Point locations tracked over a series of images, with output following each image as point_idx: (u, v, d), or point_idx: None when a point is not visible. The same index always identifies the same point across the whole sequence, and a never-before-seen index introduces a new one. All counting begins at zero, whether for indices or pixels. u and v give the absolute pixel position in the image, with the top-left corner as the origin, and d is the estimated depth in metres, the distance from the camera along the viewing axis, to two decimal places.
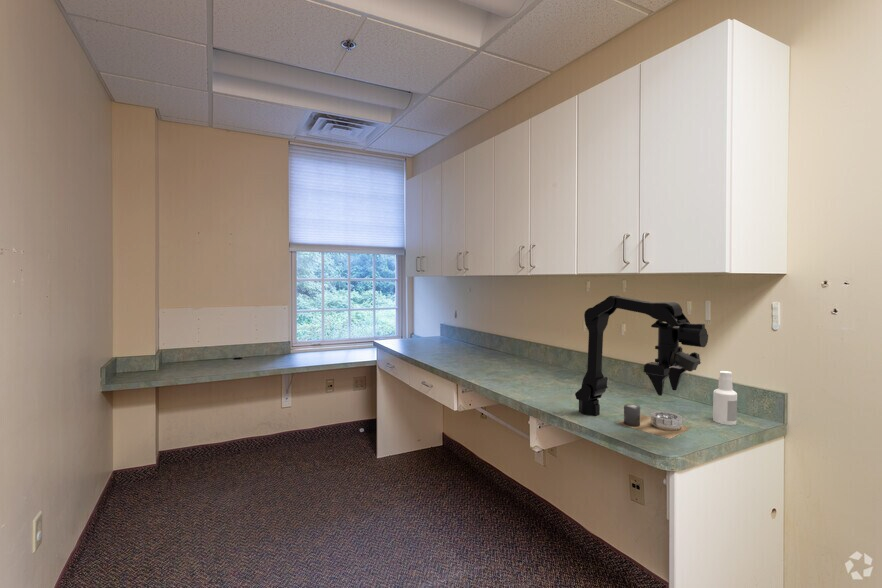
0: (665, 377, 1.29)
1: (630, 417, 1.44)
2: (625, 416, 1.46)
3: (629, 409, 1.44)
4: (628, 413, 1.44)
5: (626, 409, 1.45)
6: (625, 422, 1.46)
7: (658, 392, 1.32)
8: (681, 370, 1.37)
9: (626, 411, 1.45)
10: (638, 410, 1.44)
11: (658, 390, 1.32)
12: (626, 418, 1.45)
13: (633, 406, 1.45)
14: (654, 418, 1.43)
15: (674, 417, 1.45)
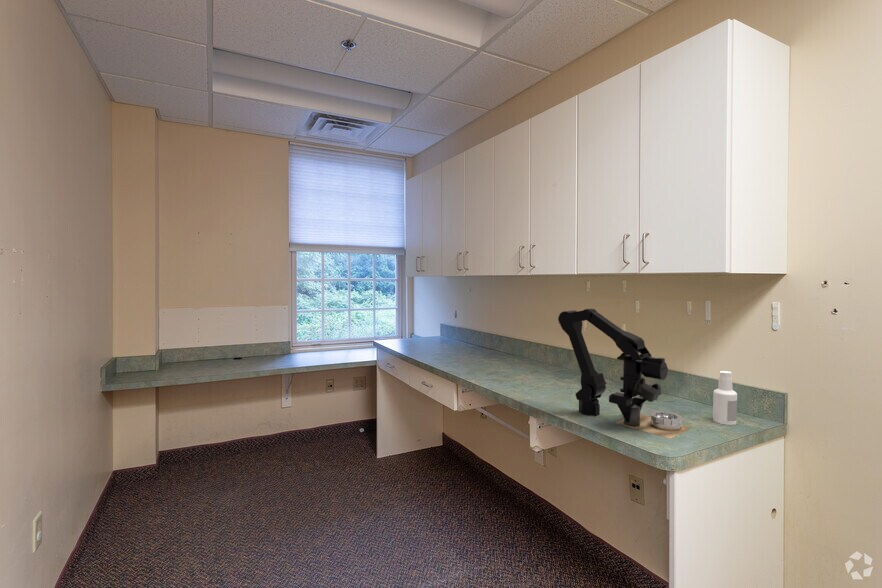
0: (631, 406, 1.41)
1: (630, 417, 1.44)
2: None
3: None
4: None
5: None
6: (625, 422, 1.46)
7: (626, 419, 1.44)
8: (642, 400, 1.46)
9: None
10: (638, 410, 1.44)
11: (626, 417, 1.44)
12: None
13: (633, 406, 1.45)
14: (654, 418, 1.43)
15: (674, 417, 1.45)
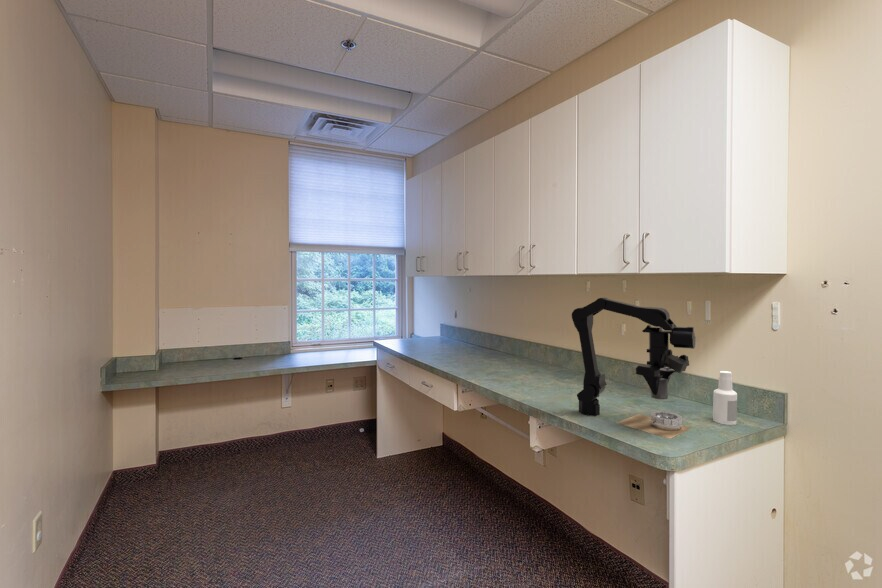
0: (659, 377, 1.38)
1: (658, 389, 1.41)
2: None
3: None
4: None
5: None
6: (652, 395, 1.43)
7: (653, 392, 1.42)
8: (669, 372, 1.44)
9: None
10: (666, 382, 1.41)
11: (653, 390, 1.42)
12: None
13: (660, 378, 1.43)
14: (654, 418, 1.43)
15: (674, 417, 1.45)
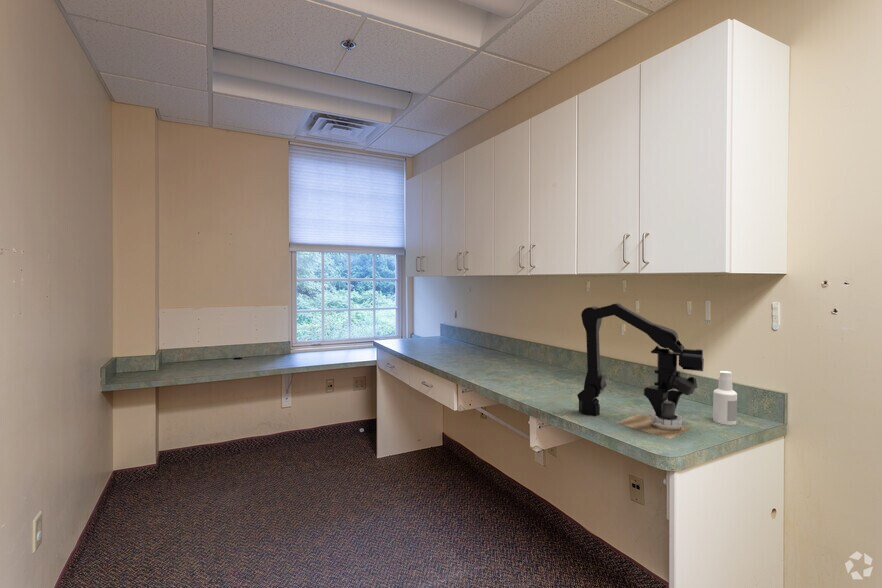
0: (664, 400, 1.37)
1: (665, 413, 1.42)
2: None
3: (664, 405, 1.42)
4: (663, 409, 1.42)
5: None
6: None
7: (657, 414, 1.41)
8: (679, 393, 1.45)
9: None
10: (673, 406, 1.41)
11: (657, 412, 1.41)
12: None
13: (668, 402, 1.43)
14: (654, 418, 1.43)
15: None
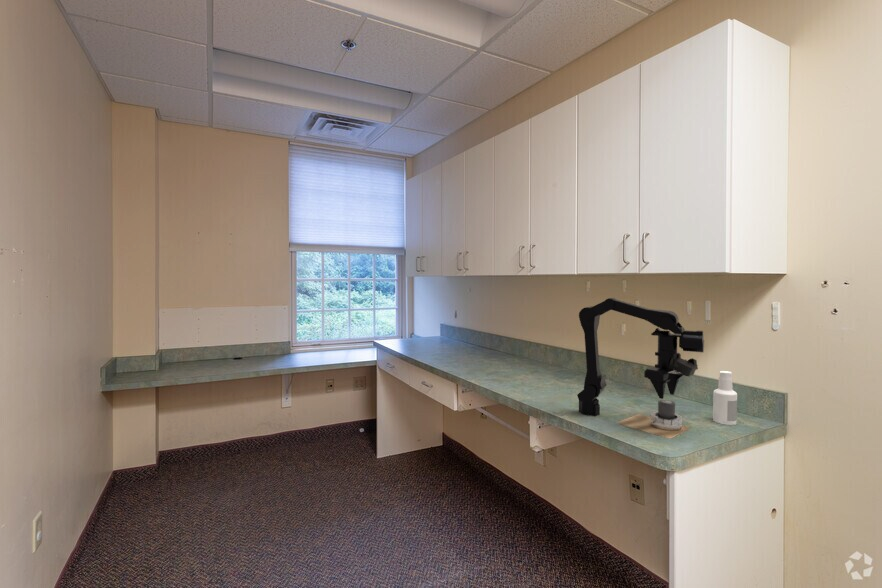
0: (666, 381, 1.38)
1: (665, 413, 1.42)
2: (659, 412, 1.43)
3: (664, 405, 1.42)
4: (663, 409, 1.42)
5: (661, 405, 1.43)
6: None
7: (659, 395, 1.41)
8: (678, 375, 1.44)
9: (661, 407, 1.43)
10: (673, 406, 1.41)
11: (659, 393, 1.41)
12: (661, 414, 1.43)
13: (668, 402, 1.43)
14: (654, 418, 1.43)
15: None
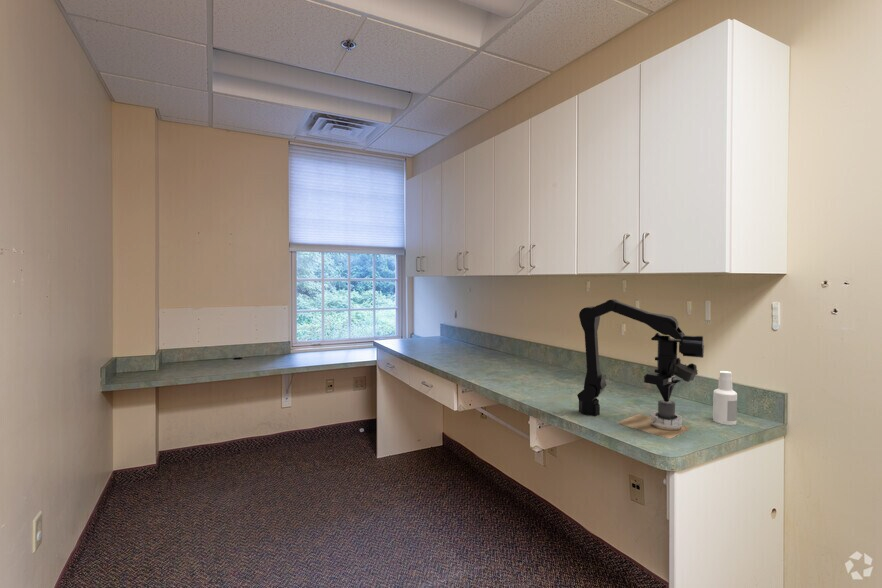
0: (671, 385, 1.40)
1: (665, 413, 1.42)
2: (659, 412, 1.43)
3: (664, 405, 1.42)
4: (663, 409, 1.42)
5: (661, 405, 1.43)
6: None
7: (664, 398, 1.43)
8: None
9: (661, 407, 1.43)
10: (673, 406, 1.41)
11: (664, 396, 1.43)
12: (661, 414, 1.43)
13: (668, 402, 1.43)
14: (654, 418, 1.43)
15: None
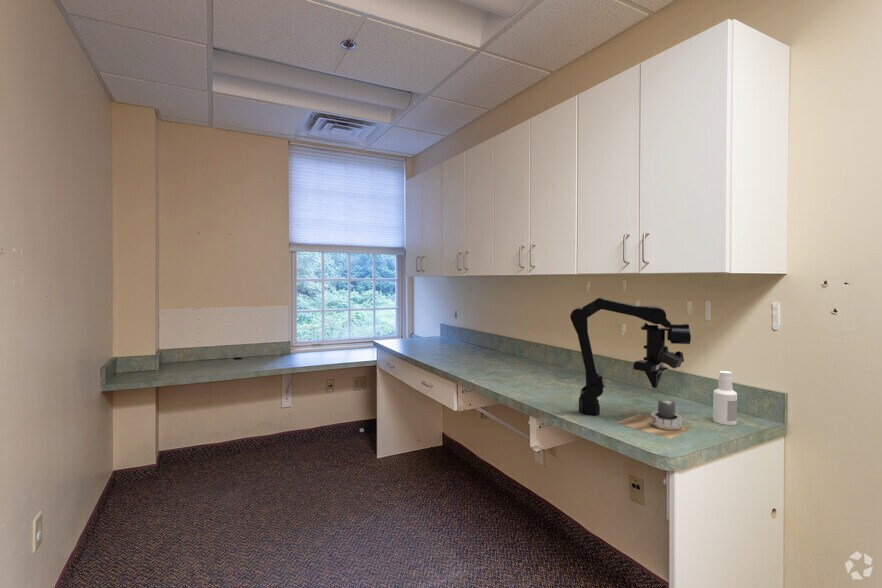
0: (659, 371, 1.47)
1: (665, 413, 1.42)
2: (659, 412, 1.43)
3: (664, 405, 1.42)
4: (663, 409, 1.42)
5: (661, 405, 1.43)
6: None
7: (653, 385, 1.50)
8: None
9: (661, 407, 1.43)
10: (673, 406, 1.41)
11: (653, 383, 1.50)
12: (661, 414, 1.43)
13: (668, 402, 1.43)
14: (654, 418, 1.43)
15: None
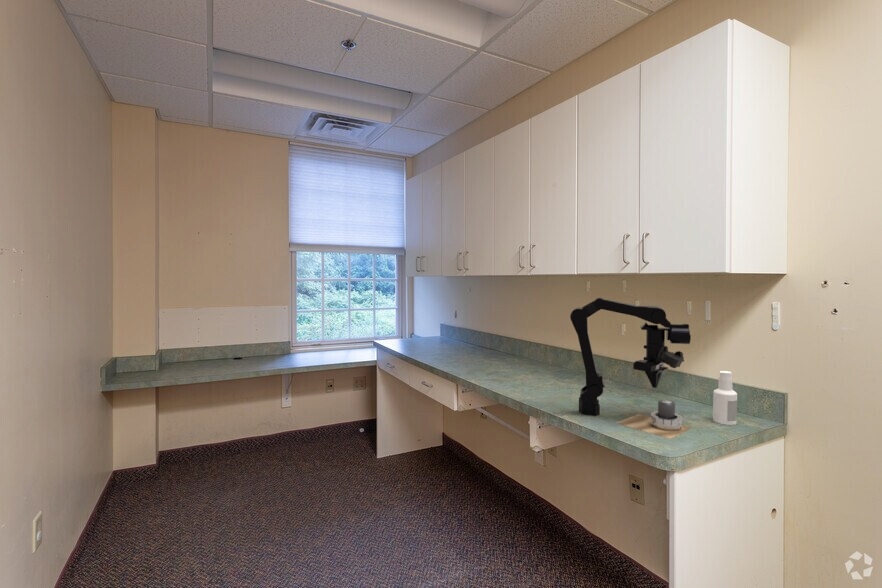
0: (659, 371, 1.47)
1: (665, 413, 1.42)
2: (659, 412, 1.43)
3: (664, 405, 1.42)
4: (663, 409, 1.42)
5: (661, 405, 1.43)
6: None
7: (653, 385, 1.50)
8: (661, 369, 1.49)
9: (661, 407, 1.43)
10: (673, 406, 1.41)
11: (653, 383, 1.50)
12: (661, 414, 1.43)
13: (668, 402, 1.43)
14: (654, 418, 1.43)
15: None
